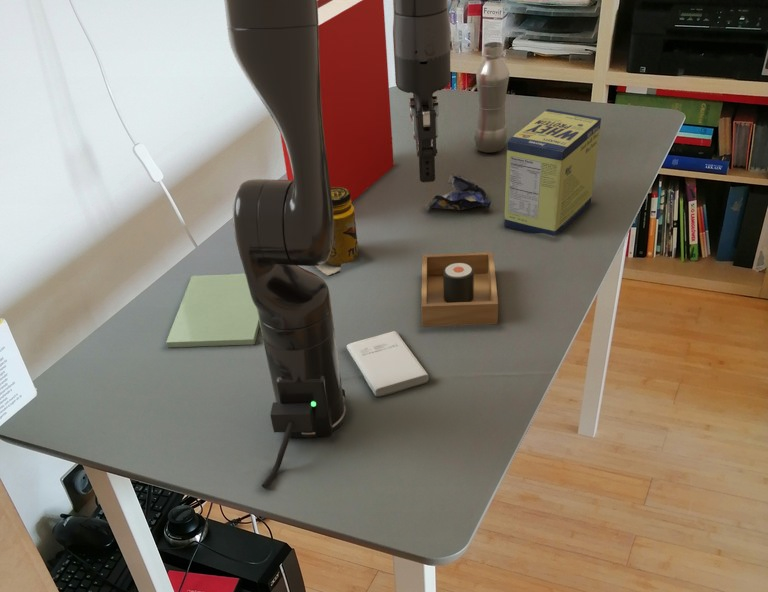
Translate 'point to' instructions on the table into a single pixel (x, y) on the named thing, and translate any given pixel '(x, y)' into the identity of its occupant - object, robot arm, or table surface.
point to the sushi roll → (458, 283)
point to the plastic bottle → (491, 99)
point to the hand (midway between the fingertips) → (425, 168)
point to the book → (353, 93)
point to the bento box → (459, 313)
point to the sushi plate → (215, 313)
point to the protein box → (550, 171)
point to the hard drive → (387, 363)
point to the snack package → (461, 196)
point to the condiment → (341, 232)
